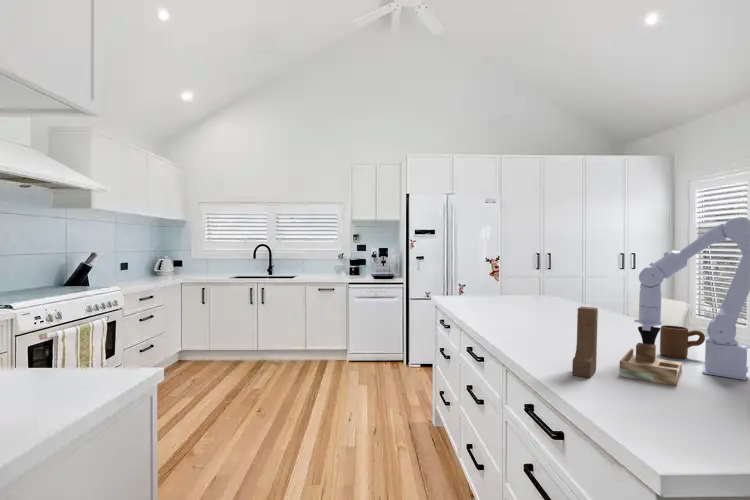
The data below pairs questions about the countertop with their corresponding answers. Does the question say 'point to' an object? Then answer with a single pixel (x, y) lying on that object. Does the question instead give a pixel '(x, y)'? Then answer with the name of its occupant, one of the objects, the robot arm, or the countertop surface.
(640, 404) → the countertop surface
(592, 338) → the wooden block
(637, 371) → the platform
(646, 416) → the countertop surface
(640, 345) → the walnut block
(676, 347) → the mug
